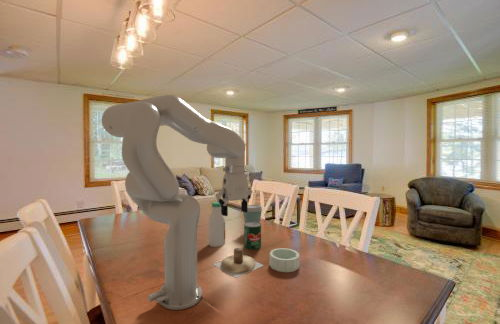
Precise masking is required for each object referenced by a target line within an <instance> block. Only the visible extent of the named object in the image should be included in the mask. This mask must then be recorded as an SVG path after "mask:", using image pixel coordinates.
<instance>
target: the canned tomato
mask: <svg viewBox="0 0 500 324" xmlns="http://www.w3.org/2000/svg"><path fill="white" fill-rule="evenodd" d="M243 227H244V228H243V239H244V240H243V247H244V248H245V249H246V250H251V251H254V250H258V249H261V248H262V223H261V222H260V223H259V222H246V223H245V222H244V224H243Z"/></svg>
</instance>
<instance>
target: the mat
mask: <svg viewBox="0 0 500 324" xmlns="http://www.w3.org/2000/svg"><path fill="white" fill-rule="evenodd" d="M221 262H222V260H221V261H218V262H216V263H213V264H212V265H213V266H214V267H216V268H218V269H220V270H221V271H223V272H225V273H227V274H229V276H231V277H233V278H235V279H238V278H239V277H242V276H244V275H247V274H248V273H251V272H254V271H255V270H257V269H259V268H262V267H263V266H265V265H264V264H262V263H260V262H258V261H256V260H255V267H254V268H253V269H252V270H250V271H248V272H244V273H231V272H228V271H225V270H224V269H223V268H222V266H221Z"/></svg>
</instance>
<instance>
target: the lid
mask: <svg viewBox="0 0 500 324" xmlns="http://www.w3.org/2000/svg"><path fill="white" fill-rule="evenodd" d="M221 261H222V262H221ZM221 261H220V262H221V266H222V268H223V269H224V270H225V271H228V272H231V273H244V272H248V271H250V270H252V269H253V268H254V267H255V261H256V259H254V258H253V257H251V256H248V255H246V254H244V249H243V248H241V247H236V248H234V249H233V255H229V256H226V257H224V258H223V259H222V260H221ZM225 271H224V272H225Z"/></svg>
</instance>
